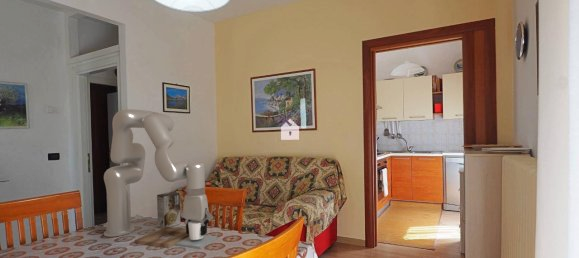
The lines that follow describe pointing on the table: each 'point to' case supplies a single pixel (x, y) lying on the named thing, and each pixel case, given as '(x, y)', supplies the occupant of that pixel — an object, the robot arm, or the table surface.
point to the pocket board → (166, 243)
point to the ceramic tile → (196, 242)
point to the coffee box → (168, 209)
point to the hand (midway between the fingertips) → (196, 233)
